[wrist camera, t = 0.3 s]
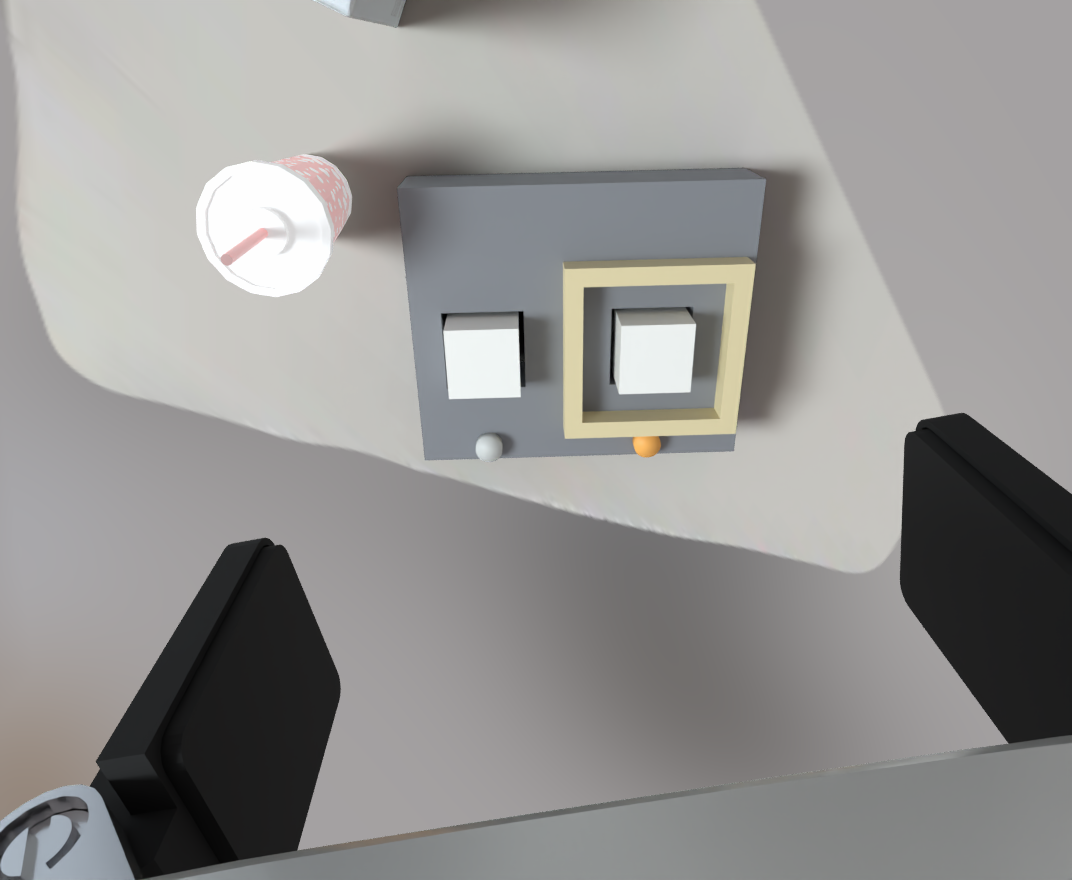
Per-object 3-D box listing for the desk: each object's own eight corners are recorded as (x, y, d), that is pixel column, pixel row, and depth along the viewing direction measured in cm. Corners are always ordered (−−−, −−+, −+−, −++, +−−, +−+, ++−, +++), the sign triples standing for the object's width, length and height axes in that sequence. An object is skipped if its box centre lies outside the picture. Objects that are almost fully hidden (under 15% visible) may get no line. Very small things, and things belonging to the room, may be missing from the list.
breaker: (449, 307, 43) (443, 330, 40) (518, 305, 43) (518, 328, 40) (454, 371, 45) (448, 399, 41) (520, 369, 45) (520, 397, 42)
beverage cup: (294, 268, 44) (207, 355, 32) (234, 168, 41) (113, 220, 29) (385, 225, 43) (333, 297, 30) (330, 119, 40) (247, 152, 28)
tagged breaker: (612, 303, 43) (621, 326, 40) (681, 301, 43) (696, 323, 40) (610, 367, 45) (618, 394, 42) (676, 365, 45) (690, 392, 42)
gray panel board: (406, 176, 42) (392, 193, 37) (745, 167, 42) (775, 183, 37) (431, 430, 49) (422, 472, 44) (718, 422, 49) (740, 463, 44)
